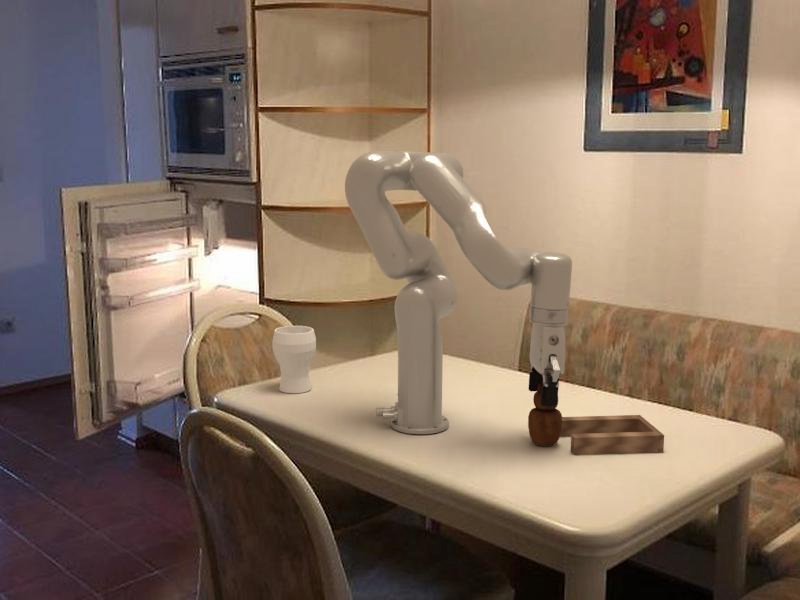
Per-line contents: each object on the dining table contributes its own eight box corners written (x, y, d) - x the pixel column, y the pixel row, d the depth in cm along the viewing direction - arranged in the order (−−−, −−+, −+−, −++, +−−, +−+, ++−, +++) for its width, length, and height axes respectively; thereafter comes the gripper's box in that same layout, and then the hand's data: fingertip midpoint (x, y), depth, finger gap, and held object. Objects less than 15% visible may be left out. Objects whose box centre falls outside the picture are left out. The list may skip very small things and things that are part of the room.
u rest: (574, 455, 178) (574, 437, 177) (555, 433, 191) (556, 417, 190) (663, 452, 180) (664, 435, 179) (639, 430, 193) (639, 414, 192)
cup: (325, 387, 224) (324, 328, 222) (298, 397, 216) (297, 336, 213) (292, 381, 230) (291, 323, 227) (264, 391, 221) (263, 330, 218)
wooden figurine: (561, 440, 186) (564, 369, 184) (561, 449, 181) (563, 377, 178) (528, 438, 188) (530, 368, 185) (526, 447, 182) (529, 375, 179)
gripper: (580, 325, 171) (572, 412, 175) (555, 306, 188) (549, 385, 191) (541, 324, 170) (534, 411, 174) (519, 306, 187) (514, 385, 191)
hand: (542, 398), depth 183 cm, fingers open, 9 cm apart
